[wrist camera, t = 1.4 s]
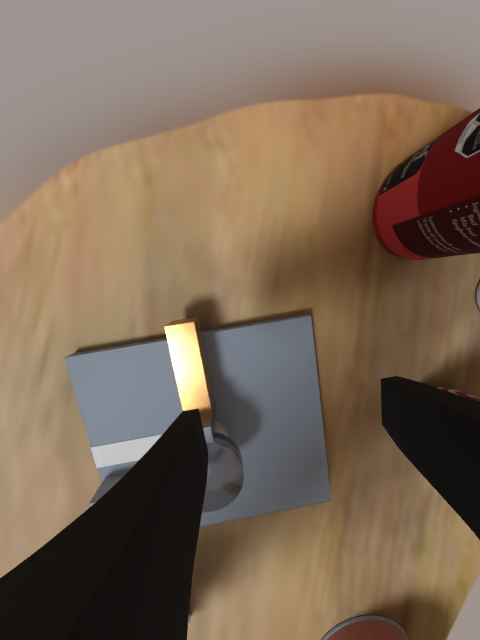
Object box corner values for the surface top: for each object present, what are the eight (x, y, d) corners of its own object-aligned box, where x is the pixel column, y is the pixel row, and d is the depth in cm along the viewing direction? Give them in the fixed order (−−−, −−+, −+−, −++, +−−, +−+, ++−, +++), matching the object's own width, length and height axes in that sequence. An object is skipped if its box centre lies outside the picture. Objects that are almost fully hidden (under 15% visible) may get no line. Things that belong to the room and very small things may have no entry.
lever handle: (244, 459, 20) (249, 504, 16) (185, 471, 20) (175, 518, 16) (218, 313, 18) (216, 322, 14) (152, 324, 18) (130, 336, 14)
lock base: (325, 489, 23) (346, 532, 19) (125, 529, 22) (104, 581, 18) (306, 313, 20) (325, 321, 16) (74, 353, 19) (35, 371, 15)
